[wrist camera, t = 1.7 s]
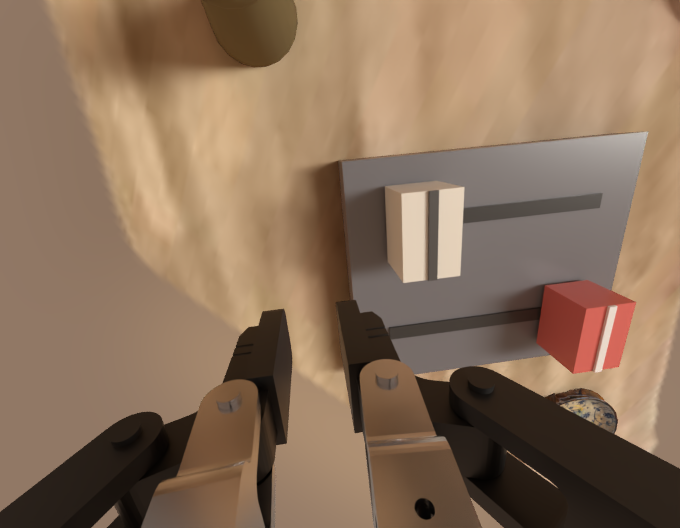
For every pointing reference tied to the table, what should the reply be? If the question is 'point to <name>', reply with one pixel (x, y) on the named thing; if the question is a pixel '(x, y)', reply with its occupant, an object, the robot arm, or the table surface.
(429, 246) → the block
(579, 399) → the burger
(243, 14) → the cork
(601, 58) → the table surface
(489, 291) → the console
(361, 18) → the table surface
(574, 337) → the block
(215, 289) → the table surface
